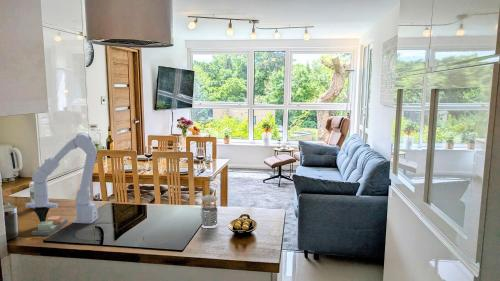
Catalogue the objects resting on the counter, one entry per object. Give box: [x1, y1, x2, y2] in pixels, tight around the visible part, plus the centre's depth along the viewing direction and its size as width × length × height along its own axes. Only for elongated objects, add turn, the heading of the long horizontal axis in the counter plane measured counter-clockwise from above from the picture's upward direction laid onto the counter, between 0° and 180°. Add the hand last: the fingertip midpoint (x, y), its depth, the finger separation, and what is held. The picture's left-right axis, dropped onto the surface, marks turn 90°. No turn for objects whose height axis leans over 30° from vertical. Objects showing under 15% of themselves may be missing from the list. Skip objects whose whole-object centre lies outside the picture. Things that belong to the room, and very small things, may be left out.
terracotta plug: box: [45, 215, 62, 225], centre depth 169 cm, size 5×4×4 cm
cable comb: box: [31, 218, 68, 236], centre depth 166 cm, size 8×16×2 cm, turn 179°
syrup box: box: [28, 180, 35, 209], centre depth 194 cm, size 6×6×14 cm
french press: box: [200, 175, 219, 226], centre depth 171 cm, size 10×12×25 cm
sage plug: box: [37, 221, 53, 231], centre depth 163 cm, size 5×4×4 cm
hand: (42, 221), depth 170 cm, fingers closed
